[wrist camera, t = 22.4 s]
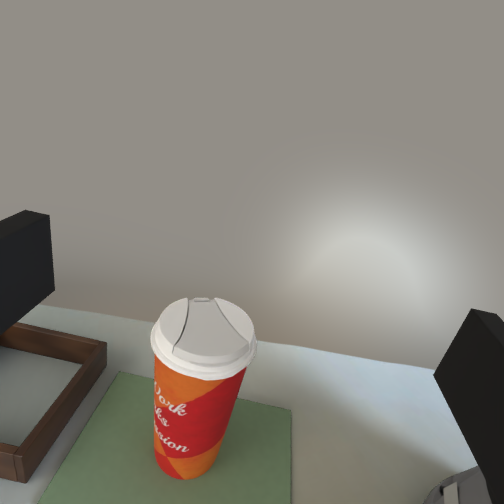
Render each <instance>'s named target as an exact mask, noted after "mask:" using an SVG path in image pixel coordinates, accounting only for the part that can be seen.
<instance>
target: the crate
mask: <svg viewBox="0 0 504 504" xmlns="http://www.w3.org/2000/svg"><path fill="white" fill-rule="evenodd" d="M0 346H4V347H8V348H13V349H17V350H21V351H26V352H30V353H35V354H39V355H43V356H48V357H52V358H57V359H61V360H65V361H70V362H74V363H79V364H83V365H82V367H81V368H80V369H79V371H78V372H77V373H76V374H75V376H74V377H73V378H72V380H71V381H70V382H69V384H68V385H67V386H66V387H65V389H64V390H63V391H62V393H61V394H60V395H59V397H58V398H57V399H56V400H55V402H54V403H53V404H52V406H51V407H50V408H49V410H48V411H47V412H46V413H45V415H44V416H43V417H42V419H41V420H40V421H39V423H38V424H37V425H36V426H35V428H34V429H33V430H32V432H31V433H30V434H29V436H28V437H27V438H26V439H25V441H24V442H23V443H22V445H21V446H20V447H17V446H13V445H8V444H4V443H0V478H4V479H8V480H12V481H16V482H21V483H27V481H28V480H29V478H30V477H31V475H32V474H33V473H34V471H35V470H36V468H37V467H38V465H39V464H40V462H41V461H42V459H43V458H44V456H45V455H46V453H47V452H48V451H49V449H50V448H51V446H52V445H53V443H54V442H55V440H56V439H57V437H58V436H59V434H60V433H61V431H62V430H63V429H64V427H65V426H66V424H67V423H68V421H69V420H70V418H71V417H72V415H73V414H74V412H75V411H76V409H77V408H78V407H79V405H80V404H81V402H82V401H83V399H84V398H85V396H86V395H87V393H88V392H89V390H90V389H91V387H92V386H93V384H94V383H95V382H96V380H97V379H98V377H99V376H100V374H101V373H102V371H103V370H104V368H105V367H106V365H107V342H103V341H99V340H94V339H90V338H85V337H81V336H76V335H72V334H68V333H63V332H59V331H54V330H50V329H45V328H41V327H37V326H32V325H28V324H23V323H19V322H16V323H15V324H14V325H12V326H11V327H10V328H9V329H8V330H6V331H5V332H4V333H3V334H2V335H0Z"/></svg>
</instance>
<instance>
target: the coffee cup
mask: <svg viewBox="0 0 504 504" xmlns="http://www.w3.org/2000/svg"><path fill="white" fill-rule="evenodd" d="M188 301H189V302H188ZM150 341H151V346H152V349H153V351H154V353H155V374H154V452H155V458H156V461H157V463H158V465H159V467H160V468H161V469H162V471H163V472H165V473H166V474H167V475H169V476H171V477H173V478H176V479H181V480H188V479H194V478H197V477H199V476H201V475H203V474H204V473H205V472H207V471H208V470H209V469H210V467H211V466H212V465H213V463H214V461H215V459H216V457H217V454H218V452H219V449H220V446H221V443H222V440H223V437H224V435H225V432H226V429H227V426H228V423H229V420H230V417H231V414H232V411H233V408H234V404H235V401H236V398H237V395H238V392H239V389H240V386H241V383H242V380H243V377H244V374H245V371H246V368H247V366H248V365H249V364H250V363H251V361H252V360H253V358H254V356H255V354H256V350H257V339H256V336H255V333H254V327H253V324H252V321H251V319H250V318H249V316H248V315H247V314H246V313H245V312H244V311H243V310H242V309H241V308H239V307H238V306H236V305H235V304H233V303H231V302H228V301H226V300H223V299H220V298H214V300H209V298H194V300H188V299H187V298H183V299H180V300H178V301H175V302H174V303H172V304H170V305H169V306H168V307H167V308H166V309H165V310H164V311H163V312H162V314H161V316H160V317H159V319H158V320H157V322H156V323H155V325H154V326H153V328H152V331H151V338H150Z"/></svg>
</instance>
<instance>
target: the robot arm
mask: <svg viewBox="0 0 504 504" xmlns="http://www.w3.org/2000/svg"><path fill="white" fill-rule="evenodd" d="M53 291H55V286H54V272H53V259H52V244H51V230H50V217H49V215H46V214H41V213H37V212H32V211H28V210H24V211H22V212H19V213H17V214H15V215H13V216H10V217H8V218H6V219H4V220H1V221H0V335H2V334H3V333H4V332H5V331H6V330H8V329H9V328H10V327H11V326H12V325H14V324H15V323H16V322H17V321H18V320H20V319H21V318H22V317H23V316H24V315H26V314H27V313H28V312H29V311H30V310H32V309H33V308H34V307H35V306H37V305H38V304H39V303H40V302H41V301H42V300H44V299H45V298H46V297H47V296H49V295H50V294H51V293H52V292H53ZM433 376H434V378H435V380H436V382H437V384H438V386H439V388H440V390H441V392H442V394H443V396H444V398H445V400H446V402H447V404H448V406H449V408H450V410H451V412H452V414H453V416H454V418H455V420H456V422H457V424H458V426H459V428H460V430H461V432H462V434H463V436H464V438H465V440H466V442H467V444H468V446H469V448H470V450H471V452H472V454H473V456H474V458H475V460H476V462H477V464H478V466H476V467H474V468H471V469H469V470H466V471H464V472H461V473H459V474H456V475H454V476H451V477H449V478H447V479H445V480H443V481H442V482H441V483H440V484H438V485H437V486H436V487H435V488H434V489H433V490H432V491H431V492H430V494H429V495H428V496H427V498H426V499H425V501H424V502H423V504H504V322H503V321H502V319H501V318H500V317H499V316H498V315H497V314H494V313H489V312H485V311H480V310H476V309H471V310H470V312H469V313H468V315H467V317H466V319H465V321H464V322H463V324H462V326H461V327H460V329H459V331H458V333H457V335H456V336H455V338H454V340H453V341H452V343H451V345H450V347H449V348H448V350H447V352H446V353H445V355H444V357H443V359H442V360H441V362H440V364H439V366H438V367H437V369H436V371H435V373H434V374H433Z"/></svg>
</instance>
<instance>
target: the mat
mask: <svg viewBox="0 0 504 504" xmlns="http://www.w3.org/2000/svg"><path fill="white" fill-rule="evenodd" d="M37 504H291V410H287V409H283V408H279V407H274V406H270V405H265V404H261V403H257V402H252V401H248V400H243V399H239V398H236V401H235V404H234V408H233V411H232V414H231V417H230V420H229V423H228V426H227V429H226V432H225V435H224V437H223V440H222V443H221V446H220V449H219V452H218V454H217V457H216V459H215V461H214V463H213V465H212V466H211V467H210V469H209V470H208V471H207V472H205V473H204V474H203V475H201V476H199V477H197V478H194V479H188V480H181V479H176V478H173V477H171V476H169V475H167V474H166V473H165V472H163V471H162V469H161V468H160V467H159V465H158V463H157V461H156V458H155V452H154V379H151V378H147V377H142V376H138V375H133V374H129V373H124V372H120V371H119V373H118V374H117V376H116V378H115V379H114V381H113V382H112V384H111V386H110V387H109V389H108V390H107V392H106V394H105V395H104V397H103V399H102V400H101V402H100V403H99V405H98V407H97V408H96V410H95V411H94V413H93V415H92V416H91V418H90V419H89V421H88V423H87V424H86V426H85V428H84V429H83V431H82V432H81V434H80V436H79V437H78V439H77V440H76V442H75V444H74V445H73V447H72V448H71V450H70V452H69V453H68V455H67V457H66V458H65V460H64V461H63V463H62V465H61V466H60V468H59V469H58V471H57V473H56V474H55V476H54V477H53V479H52V481H51V482H50V484H49V486H48V487H47V489H46V490H45V492H44V494H43V495H42V497H41V498H40V500H39V502H38V503H37Z"/></svg>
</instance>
